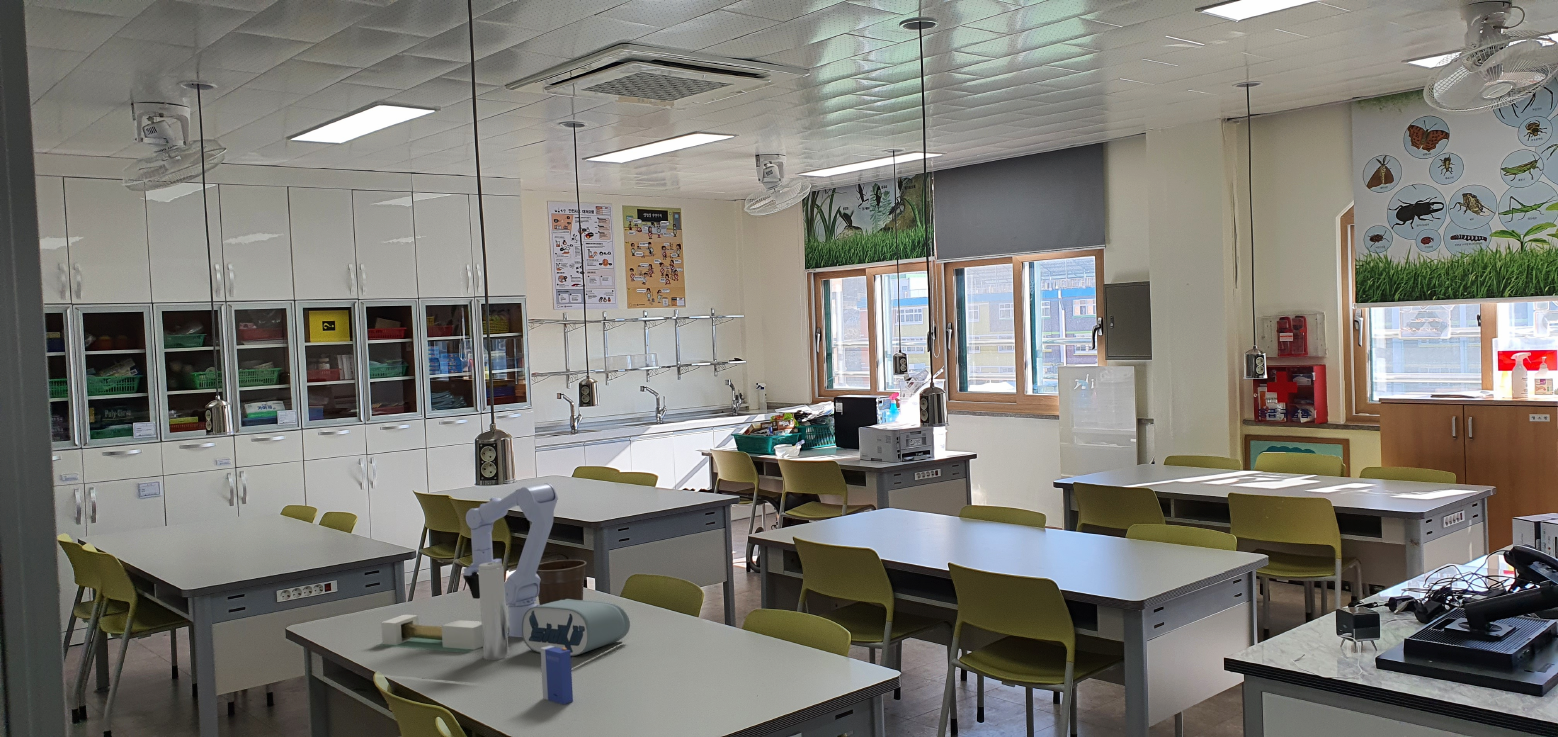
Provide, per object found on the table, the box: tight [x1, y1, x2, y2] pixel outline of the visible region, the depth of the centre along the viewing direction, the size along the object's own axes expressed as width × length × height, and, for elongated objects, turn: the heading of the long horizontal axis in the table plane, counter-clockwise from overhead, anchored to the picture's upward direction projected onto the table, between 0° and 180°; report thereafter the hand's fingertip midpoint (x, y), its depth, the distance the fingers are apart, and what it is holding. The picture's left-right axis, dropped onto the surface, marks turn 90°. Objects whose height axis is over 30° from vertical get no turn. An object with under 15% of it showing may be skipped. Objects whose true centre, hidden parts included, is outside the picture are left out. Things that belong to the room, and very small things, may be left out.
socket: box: [381, 614, 420, 645], centre depth 309 cm, size 5×9×6 cm, turn 156°
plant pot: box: [536, 559, 587, 605], centre depth 328 cm, size 16×16×16 cm
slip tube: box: [401, 624, 442, 640], centre depth 305 cm, size 21×4×4 cm, turn 66°
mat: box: [376, 638, 483, 654], centre depth 304 cm, size 32×12×1 cm, turn 66°
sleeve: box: [441, 619, 483, 651], centre depth 300 cm, size 11×6×6 cm, turn 66°
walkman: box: [540, 646, 574, 705], centre depth 249 cm, size 8×3×12 cm, turn 47°
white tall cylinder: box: [477, 562, 510, 661], centre depth 287 cm, size 6×6×25 cm
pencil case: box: [522, 599, 631, 657], centre depth 293 cm, size 22×19×13 cm
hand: (484, 595), depth 319 cm, fingers open, 7 cm apart
